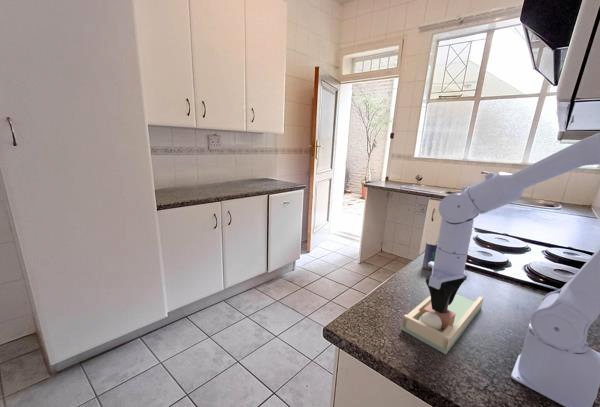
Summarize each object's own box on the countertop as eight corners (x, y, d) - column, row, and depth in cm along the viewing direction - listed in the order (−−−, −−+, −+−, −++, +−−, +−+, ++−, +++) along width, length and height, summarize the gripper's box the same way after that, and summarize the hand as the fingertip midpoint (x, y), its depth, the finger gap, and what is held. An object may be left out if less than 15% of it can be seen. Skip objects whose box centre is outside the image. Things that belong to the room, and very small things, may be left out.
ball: (441, 335, 56) (446, 317, 56) (435, 337, 53) (441, 318, 53) (422, 325, 59) (427, 308, 59) (415, 326, 56) (421, 308, 56)
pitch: (481, 307, 67) (483, 295, 66) (445, 354, 51) (448, 338, 50) (443, 292, 74) (445, 281, 73) (401, 329, 58) (403, 315, 57)
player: (453, 323, 59) (459, 294, 57) (446, 331, 56) (452, 301, 54) (429, 311, 62) (434, 284, 61) (422, 318, 60) (427, 290, 58)
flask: (421, 268, 88) (426, 238, 85) (422, 265, 90) (427, 235, 88) (453, 276, 84) (459, 244, 81) (453, 272, 86) (459, 241, 84)
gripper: (444, 237, 64) (435, 288, 67) (417, 251, 54) (408, 310, 57) (478, 246, 58) (467, 301, 61) (455, 263, 49) (443, 327, 52)
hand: (441, 306), depth 59 cm, fingers open, 4 cm apart
